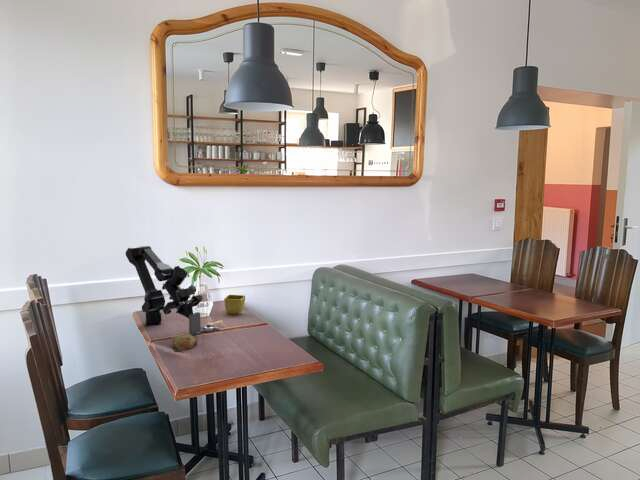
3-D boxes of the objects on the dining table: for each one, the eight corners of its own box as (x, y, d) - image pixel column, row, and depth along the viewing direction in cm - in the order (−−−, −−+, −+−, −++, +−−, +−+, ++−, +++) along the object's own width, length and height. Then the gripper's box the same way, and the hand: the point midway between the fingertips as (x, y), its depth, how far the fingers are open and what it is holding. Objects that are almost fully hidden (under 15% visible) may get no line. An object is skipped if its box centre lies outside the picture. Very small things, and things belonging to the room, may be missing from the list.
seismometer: (215, 322, 234) (215, 304, 232) (229, 326, 229) (229, 307, 227) (183, 333, 218) (183, 313, 217) (197, 337, 213) (197, 316, 212)
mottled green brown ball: (169, 357, 203) (163, 343, 199) (183, 340, 211) (177, 326, 207) (190, 361, 200) (185, 346, 196) (203, 343, 208) (198, 329, 204)
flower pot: (245, 312, 256) (245, 295, 255) (241, 317, 248) (241, 299, 246) (228, 311, 257) (228, 294, 256) (224, 316, 249) (223, 298, 247)
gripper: (166, 284, 211) (185, 313, 206) (199, 276, 226) (217, 304, 222) (154, 299, 216) (172, 329, 212) (187, 291, 232) (205, 318, 227)
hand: (193, 319), depth 218 cm, fingers closed
